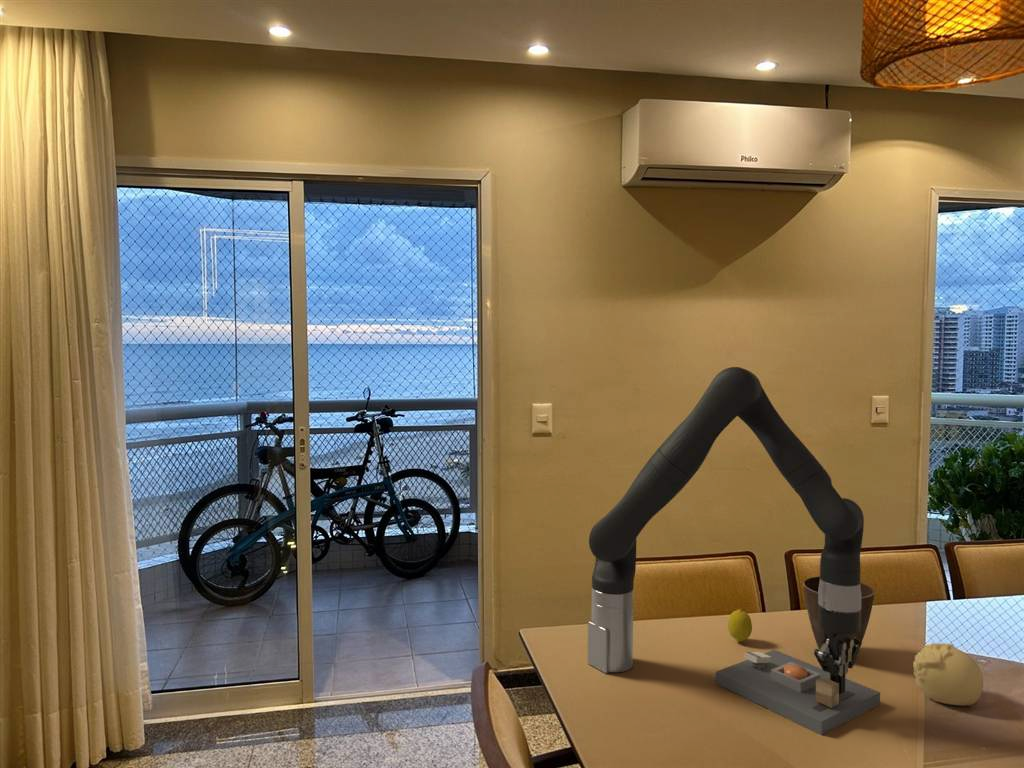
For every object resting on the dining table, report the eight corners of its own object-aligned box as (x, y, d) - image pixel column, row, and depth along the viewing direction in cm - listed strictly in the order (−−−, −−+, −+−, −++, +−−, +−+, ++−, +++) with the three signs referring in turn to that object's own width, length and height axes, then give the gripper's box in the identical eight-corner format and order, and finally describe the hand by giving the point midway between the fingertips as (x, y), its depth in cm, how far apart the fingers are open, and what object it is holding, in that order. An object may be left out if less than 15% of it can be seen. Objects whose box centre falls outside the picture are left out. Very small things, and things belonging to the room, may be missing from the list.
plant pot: (866, 675, 149) (867, 602, 149) (794, 657, 158) (795, 588, 158) (878, 652, 161) (880, 584, 161) (811, 636, 170) (812, 572, 170)
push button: (798, 686, 138) (798, 676, 138) (779, 677, 141) (779, 668, 141) (811, 680, 140) (811, 670, 140) (792, 672, 144) (792, 662, 144)
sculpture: (917, 679, 147) (918, 629, 147) (985, 697, 140) (986, 644, 139) (907, 699, 139) (908, 646, 138) (979, 719, 131) (980, 663, 131)
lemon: (753, 647, 163) (753, 614, 163) (728, 645, 164) (729, 612, 164) (750, 638, 169) (750, 606, 168) (726, 636, 170) (727, 604, 170)
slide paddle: (831, 707, 129) (831, 686, 129) (815, 700, 132) (816, 680, 132) (838, 704, 131) (839, 683, 131) (822, 697, 133) (823, 677, 133)
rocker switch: (756, 663, 145) (757, 656, 146) (744, 658, 148) (745, 651, 148) (770, 662, 148) (771, 656, 148) (758, 657, 151) (759, 651, 151)
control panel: (821, 735, 125) (821, 710, 125) (715, 683, 145) (715, 662, 145) (879, 704, 136) (880, 682, 136) (774, 660, 156) (774, 641, 156)
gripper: (840, 591, 139) (838, 676, 140) (801, 604, 132) (799, 693, 133) (877, 602, 133) (875, 690, 134) (838, 616, 126) (836, 710, 126)
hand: (837, 692), depth 133 cm, fingers closed
